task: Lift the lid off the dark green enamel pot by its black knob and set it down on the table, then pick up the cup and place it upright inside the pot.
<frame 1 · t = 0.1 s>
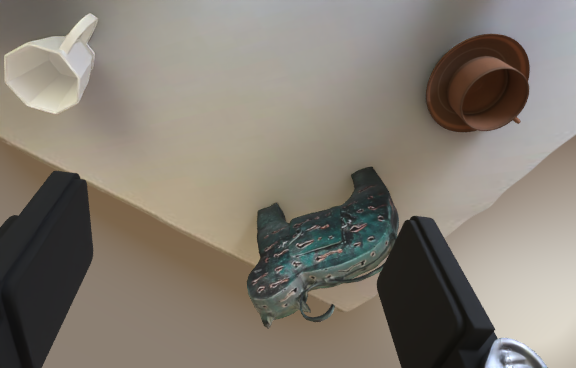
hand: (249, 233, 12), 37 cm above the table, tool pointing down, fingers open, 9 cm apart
cup and saucer: (469, 80, 49), on the table
cup: (82, 44, 44), on the table
ceramic cat: (312, 194, 57), on the table
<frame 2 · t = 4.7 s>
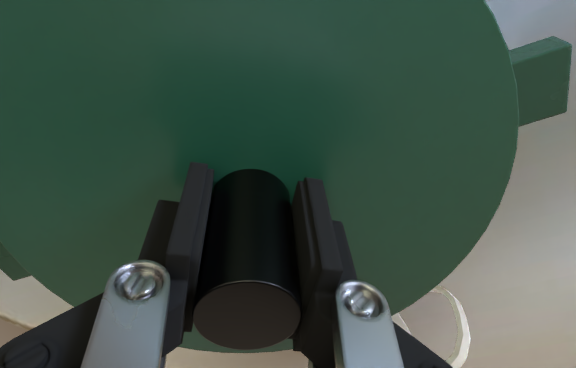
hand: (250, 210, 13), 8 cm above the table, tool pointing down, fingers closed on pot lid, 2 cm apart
pot lid: (250, 192, 14), point 8 cm above the table, touching gripper, pot
cup: (377, 292, 29), on the table
pot: (253, 103, 20), on the table
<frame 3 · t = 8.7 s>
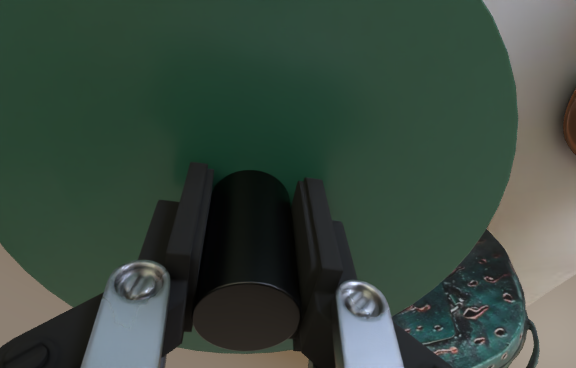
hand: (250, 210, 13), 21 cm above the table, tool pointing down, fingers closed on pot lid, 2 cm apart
pot lid: (250, 193, 14), point 20 cm above the table, touching gripper
ceramic cat: (383, 245, 43), on the table
when the fingers open (2 cm above the table, at t = 13.1 s): pot lid stays where it is, point 1 cm above the table.
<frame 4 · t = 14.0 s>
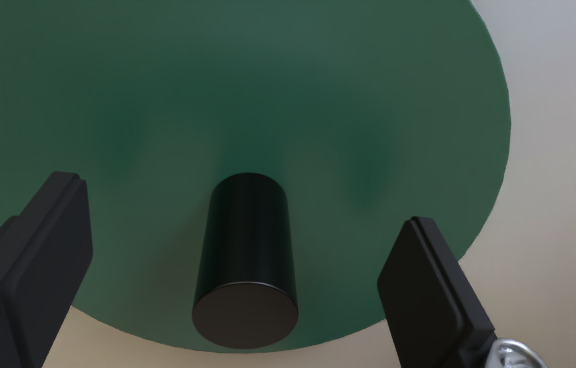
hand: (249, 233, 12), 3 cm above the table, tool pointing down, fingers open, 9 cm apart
pot lid: (249, 195, 14), point 1 cm above the table
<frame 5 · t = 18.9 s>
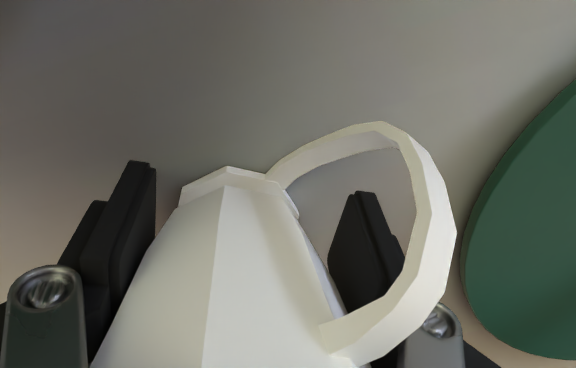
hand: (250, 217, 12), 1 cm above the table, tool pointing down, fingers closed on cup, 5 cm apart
cup: (262, 186, 14), on the table, touching gripper
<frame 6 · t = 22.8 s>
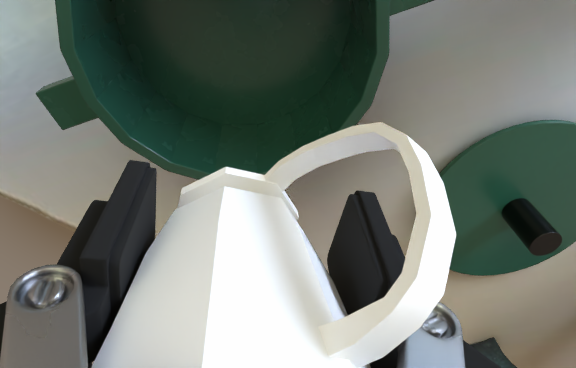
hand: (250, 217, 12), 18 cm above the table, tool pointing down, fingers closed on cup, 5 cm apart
pot lid: (513, 206, 37), point 1 cm above the table
cup: (262, 187, 14), point 17 cm above the table, touching gripper
pot: (236, 18, 26), on the table
ceramic cat: (535, 328, 49), on the table
when the fingers open (2 cm above the table, at t = 27.1 s): cup stays where it is, resting on pot.
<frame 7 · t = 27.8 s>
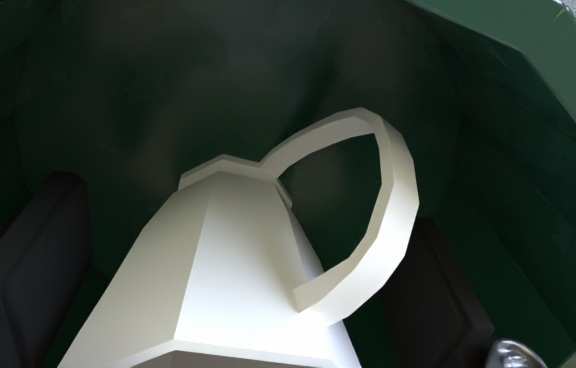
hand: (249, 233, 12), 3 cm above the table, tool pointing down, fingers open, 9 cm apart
cup: (257, 175, 14), resting on pot
pot: (247, 172, 15), on the table
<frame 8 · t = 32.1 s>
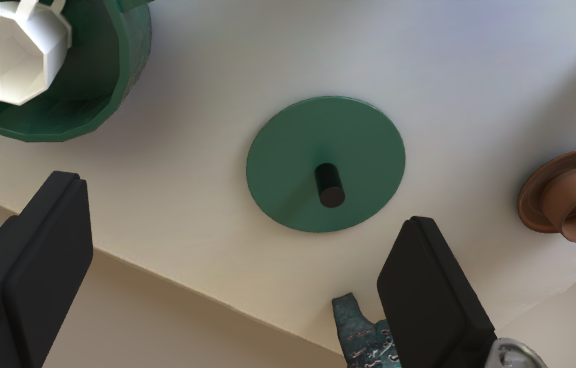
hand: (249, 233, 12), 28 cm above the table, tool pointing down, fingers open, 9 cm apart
cup and saucer: (560, 184, 48), on the table
pot lid: (325, 170, 44), point 1 cm above the table
cup: (54, 14, 34), resting on pot
pot: (52, 14, 34), on the table
ceramic cat: (388, 284, 57), on the table
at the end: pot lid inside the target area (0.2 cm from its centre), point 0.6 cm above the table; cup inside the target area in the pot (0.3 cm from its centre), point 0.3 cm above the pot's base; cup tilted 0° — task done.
